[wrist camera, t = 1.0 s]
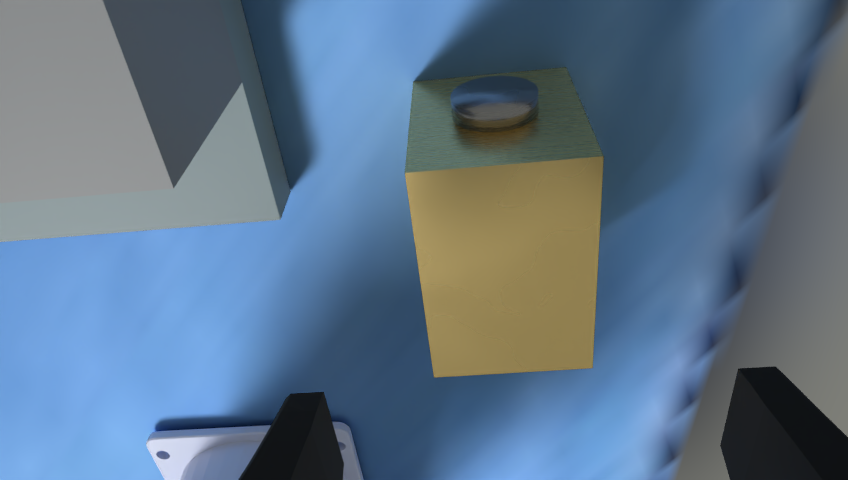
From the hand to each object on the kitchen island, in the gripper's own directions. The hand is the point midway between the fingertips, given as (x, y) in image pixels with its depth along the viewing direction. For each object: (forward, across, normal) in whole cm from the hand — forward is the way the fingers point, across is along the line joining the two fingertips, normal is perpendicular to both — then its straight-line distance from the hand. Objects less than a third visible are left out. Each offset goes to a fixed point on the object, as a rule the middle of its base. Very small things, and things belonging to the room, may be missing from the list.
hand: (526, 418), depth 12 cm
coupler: (+9, 0, 0) cm, 9 cm away
